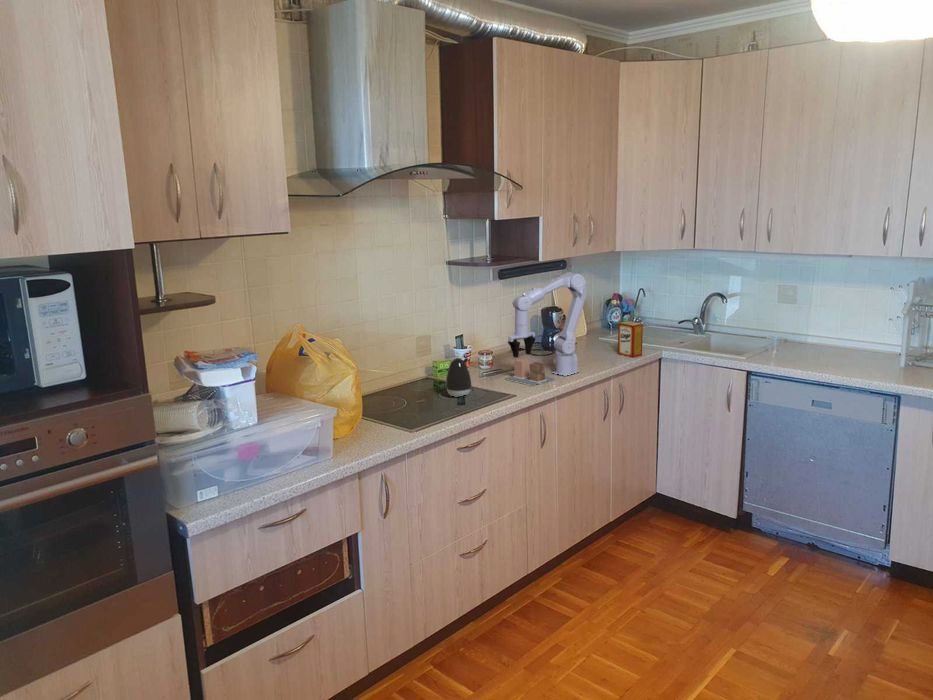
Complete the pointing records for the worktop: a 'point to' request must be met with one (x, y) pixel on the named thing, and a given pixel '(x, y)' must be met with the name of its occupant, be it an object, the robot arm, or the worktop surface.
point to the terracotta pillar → (521, 368)
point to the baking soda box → (630, 339)
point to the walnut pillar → (537, 371)
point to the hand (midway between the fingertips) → (521, 355)
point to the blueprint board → (528, 380)
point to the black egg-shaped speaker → (458, 378)
